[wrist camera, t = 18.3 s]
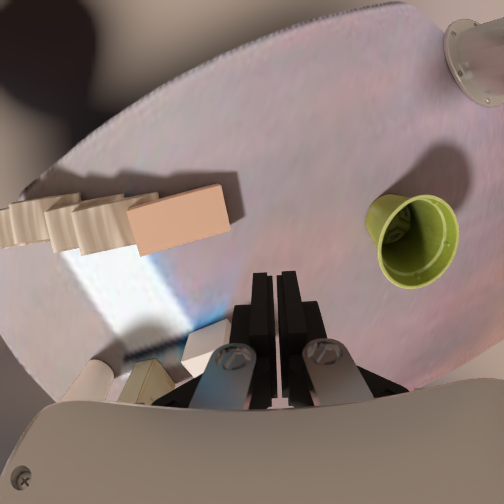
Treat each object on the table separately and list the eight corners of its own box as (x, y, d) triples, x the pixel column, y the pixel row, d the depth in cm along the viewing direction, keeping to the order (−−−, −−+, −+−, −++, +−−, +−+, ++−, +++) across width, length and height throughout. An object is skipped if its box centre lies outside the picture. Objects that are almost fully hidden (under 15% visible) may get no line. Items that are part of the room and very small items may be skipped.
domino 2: (78, 194, 31) (8, 204, 27) (83, 234, 32) (14, 243, 29) (81, 192, 32) (13, 202, 28) (85, 231, 34) (18, 239, 30)
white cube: (189, 332, 40) (180, 361, 34) (227, 317, 38) (222, 347, 33) (212, 362, 42) (206, 392, 36) (248, 349, 40) (247, 379, 35)
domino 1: (49, 201, 31) (-12, 213, 27) (55, 239, 32) (-5, 249, 29) (53, 199, 32) (-7, 210, 29) (58, 235, 34) (-1, 245, 30)
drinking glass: (121, 387, 45) (92, 454, 31) (87, 376, 44) (54, 438, 31) (116, 360, 42) (81, 431, 28) (81, 350, 42) (40, 414, 28)
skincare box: (176, 384, 44) (159, 444, 32) (154, 387, 44) (135, 445, 33) (155, 356, 41) (132, 418, 30) (133, 361, 42) (107, 419, 31)
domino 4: (158, 193, 30) (70, 212, 28) (165, 238, 32) (81, 255, 29) (157, 191, 32) (74, 209, 29) (164, 233, 34) (84, 250, 31)
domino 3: (123, 195, 31) (44, 212, 28) (130, 237, 33) (53, 253, 30) (124, 192, 32) (48, 209, 29) (131, 233, 34) (57, 248, 31)
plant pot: (338, 203, 32) (363, 227, 24) (404, 165, 30) (445, 178, 22) (369, 268, 35) (395, 305, 27) (429, 231, 33) (466, 259, 25)
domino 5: (221, 185, 30) (126, 211, 28) (230, 230, 32) (140, 256, 30) (217, 183, 32) (128, 208, 30) (227, 226, 34) (141, 251, 32)
